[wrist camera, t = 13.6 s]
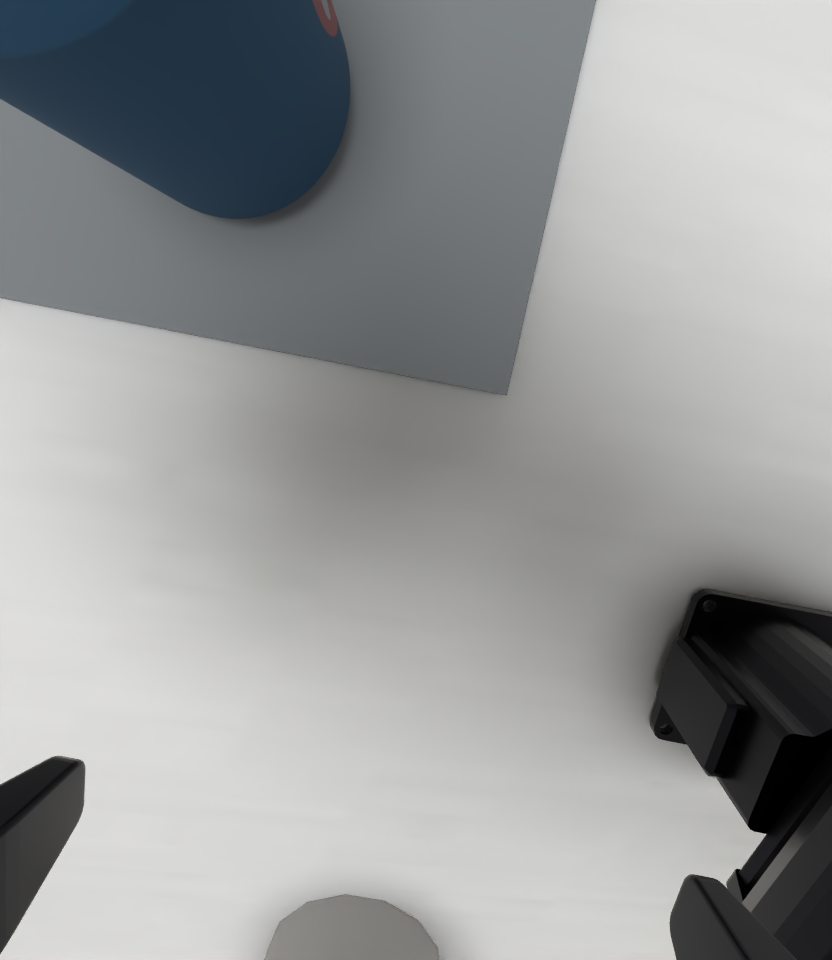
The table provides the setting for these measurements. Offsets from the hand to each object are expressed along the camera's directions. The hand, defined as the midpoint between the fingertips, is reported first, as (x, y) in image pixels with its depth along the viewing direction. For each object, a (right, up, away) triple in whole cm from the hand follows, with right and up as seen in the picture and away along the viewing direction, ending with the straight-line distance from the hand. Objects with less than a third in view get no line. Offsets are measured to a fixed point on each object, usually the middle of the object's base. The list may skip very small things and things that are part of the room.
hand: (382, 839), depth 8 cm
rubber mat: (-5, +17, +9) cm, 20 cm away
